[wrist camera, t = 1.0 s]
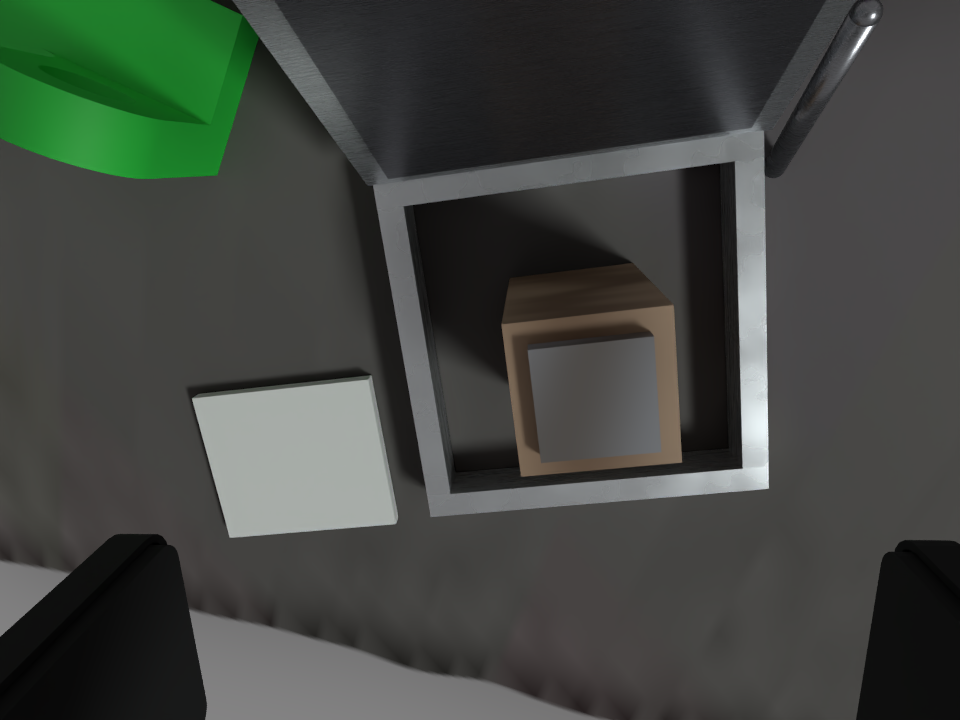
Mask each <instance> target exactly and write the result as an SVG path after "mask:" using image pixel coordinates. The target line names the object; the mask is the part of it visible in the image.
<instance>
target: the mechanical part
mask: <svg viewBox="0 0 960 720" xmlns="http://www.w3.org/2000/svg"><path fill="white" fill-rule="evenodd" d="M258 38H259V36H258V35H257V33H256V32H255V31H254V29H253V28H252V26H251V25H250V24H249V22H248V21H247V20H246V18H245V17H244V16H243V15H241V14H239V13H236V12H234V11H232V10H230V9H228V8H226V7H224V6H221V5H219V4H217V3H215V2H213V1H211V0H0V138H1V139H3V140H5V141H7V142H10V143H12V144H14V145H17V146H19V147H22V148H24V149H27V150H29V151H32V152H35V153H38V154H40V155H43V156H46V157H49V158H52V159H55V160H58V161H61V162H65V163H68V164H71V165H75V166H78V167H82V168H86V169H89V170H93V171H98V172H102V173H106V174H111V175H116V176H122V177H129V178H139V179H154V178H174V177H194V176H214V175H217V174H218V171H219V167H220V164H221V161H222V157H223V154H224V151H225V147H226V144H227V141H228V138H229V134H230V131H231V128H232V124H233V121H234V118H235V114H236V111H237V108H238V104H239V101H240V98H241V95H242V91H243V88H244V85H245V81H246V78H247V75H248V71H249V68H250V65H251V62H252V58H253V55H254V52H255V48H256V45H257V42H258Z"/></svg>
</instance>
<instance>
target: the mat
mask: <svg viewBox="0 0 960 720" xmlns="http://www.w3.org/2000/svg"><path fill="white" fill-rule="evenodd" d="M192 401H193V405H194V408H195V412H196V415H197V419H198V423H199V426H200V430H201V434H202V437H203V441H204V445H205V448H206V452H207V456H208V459H209V463H210V467H211V470H212V474H213V478H214V481H215V485H216V489H217V492H218V496H219V500H220V503H221V507H222V511H223V514H224V518H225V521H226V525H227V529H228V532H229V536H230V538H233V537H245V536H257V535H269V534H281V533H293V532H305V531H317V530H329V529H341V528H353V527H366V526H378V525H390V524H396V522H397V519H398V513H397V508H396V502H395V497H394V492H393V487H392V481H391V476H390V471H389V466H388V460H387V455H386V450H385V445H384V439H383V434H382V429H381V424H380V418H379V413H378V408H377V403H376V397H375V392H374V387H373V382H372V376H371V375H369V376H360V377H350V378H341V379H332V380H323V381H313V382H304V383H295V384H286V385H276V386H267V387H258V388H249V389H239V390H230V391H221V392H212V393H202V394H198V395H196V396H195V397H193V398H192Z"/></svg>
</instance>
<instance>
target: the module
mask: <svg viewBox="0 0 960 720" xmlns="http://www.w3.org/2000/svg"><path fill="white" fill-rule="evenodd" d="M501 325H502V333H503V341H504V348H505V356H506V364H507V372H508V379H509V387H510V395H511V403H512V410H513V418H514V426H515V433H516V441H517V449H518V457H519V464H520V472H521V477H524V476H536V475H547V474H558V473H569V472H581V471H592V470H603V469H615V468H626V467H637V466H648V465H660V464H671V463H682V451H681V433H680V414H679V395H678V377H677V358H676V339H675V320H674V305H673V304H672V303H671V302H670V301H669V300H668V299H667V298H666V297H665V296H664V294H663V293H662V292H661V291H660V290H659V289H658V288H657V287H656V286H655V285H654V284H653V283H652V282H651V281H650V280H649V279H648V278H647V277H646V276H645V275H644V274H643V273H642V272H641V271H640V270H639V269H638V268H637V267H636V266H635V265H634V264H633V263H628V264H620V265H612V266H604V267H595V268H587V269H579V270H571V271H563V272H554V273H546V274H538V275H530V276H521V277H513V278H510V279H509V284H508V290H507V296H506V301H505V307H504V313H503V318H502V324H501Z"/></svg>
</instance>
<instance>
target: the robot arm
mask: <svg viewBox="0 0 960 720" xmlns="http://www.w3.org/2000/svg"><path fill="white" fill-rule="evenodd" d="M206 710H207V702H206V696H205V690H204V686H203V680H202V675H201V670H200V665H199V660H198V655H197V649H196V644H195V639H194V634H193V629H192V623H191V618H190V613H189V608H188V603H187V598H186V592H185V587H184V582H183V577H182V572H181V567H180V561H179V556H178V553H177V550H176V549H175V547H173V546H171V545H167V542H166V541H165V539H164V538H163V537H162V536H160V535H158V534H117V535H114V536H113V537H111V538H109V539H108V540H107V541H106V542H105V543H104V544H103V545H102V546H100V547H99V548H98V549H97V550H96V551H95V552H94V553H93V554H92V555H90V556H89V557H88V558H87V559H86V560H85V561H84V562H83V563H82V564H81V565H79V566H78V567H77V568H76V569H75V570H74V571H73V572H72V573H71V574H69V575H68V576H67V577H66V578H65V579H64V580H63V581H62V582H61V583H59V584H58V585H57V586H56V587H55V588H54V589H53V590H52V591H51V592H49V593H48V594H47V595H46V596H45V597H44V598H43V599H42V600H41V601H40V602H38V603H37V604H36V605H35V606H34V607H33V608H32V609H31V610H30V611H28V612H27V613H26V614H25V615H24V616H23V617H22V618H21V619H20V620H18V621H17V622H16V623H15V624H14V625H13V626H12V627H11V628H10V629H8V630H7V631H6V632H5V633H4V634H3V635H2V636H1V637H0V720H205V717H206ZM856 720H960V544H958V543H957V542H955V541H941V540H904V541H902V542H900V543H899V544H898V545H897V547H896V549H895V552H888V553H886V554H885V555H884V557H883V559H882V562H881V568H880V574H879V580H878V586H877V593H876V599H875V605H874V612H873V618H872V624H871V630H870V637H869V643H868V649H867V655H866V662H865V668H864V674H863V680H862V687H861V693H860V699H859V705H858V712H857V718H856Z"/></svg>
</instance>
